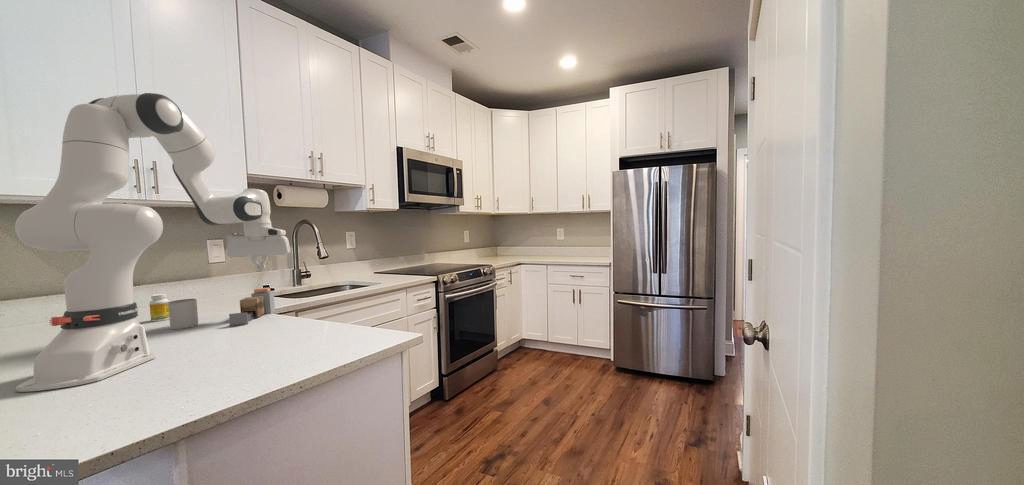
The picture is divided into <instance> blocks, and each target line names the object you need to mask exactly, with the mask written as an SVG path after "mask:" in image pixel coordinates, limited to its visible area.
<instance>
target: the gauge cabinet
mask: <svg viewBox="0 0 1024 485" xmlns="http://www.w3.org/2000/svg"><path fill="white" fill-rule="evenodd" d="M258 296H263V300H264V314H263V315H267V314H272V313H274V312H276V309H275V305H276V304H275V297H274V296H275V294H274V290H270V291H268V292H265V293H260V292H258V293H254V292H253V293H251V295H250V297H258Z"/></svg>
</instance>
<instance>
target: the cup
mask: <svg viewBox="0 0 1024 485" xmlns="http://www.w3.org/2000/svg"><path fill="white" fill-rule="evenodd" d="M168 307H169V318H170V319H169V326H170V329H171V330H174V329H176V330H183V329H182V328H185V329H189V328H188V327H190V328H193V327H192V326H194V327H196V326H195V325H197V326H198V325H199V315H198V314H199V313H198V301H197V298H184V299H177V300H172V301H169V302H168Z"/></svg>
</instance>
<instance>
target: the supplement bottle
mask: <svg viewBox="0 0 1024 485" xmlns="http://www.w3.org/2000/svg"><path fill="white" fill-rule="evenodd" d="M150 296H151V298H150V299H151V301H149V312H150V321H151V322H155V323H157V322H163V321H167V320H170V318H169V307H168V302H170V300H169V299H168V298H167V293H156V294H152V295H150Z"/></svg>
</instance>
